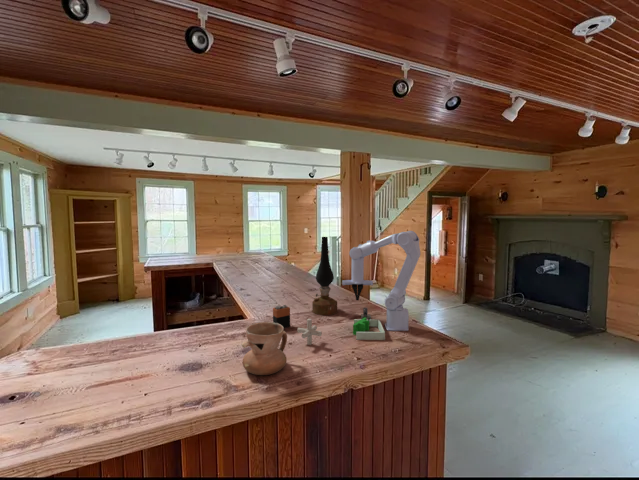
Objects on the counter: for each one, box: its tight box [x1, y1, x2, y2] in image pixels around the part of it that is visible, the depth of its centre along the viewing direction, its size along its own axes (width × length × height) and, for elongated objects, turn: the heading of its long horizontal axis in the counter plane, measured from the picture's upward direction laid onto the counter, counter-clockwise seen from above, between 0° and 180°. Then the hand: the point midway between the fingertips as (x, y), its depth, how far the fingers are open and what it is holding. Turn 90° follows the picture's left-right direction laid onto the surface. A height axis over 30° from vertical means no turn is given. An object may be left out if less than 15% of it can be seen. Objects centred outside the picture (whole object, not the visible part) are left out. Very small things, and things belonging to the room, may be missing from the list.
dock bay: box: [353, 318, 386, 341], centre depth 139 cm, size 12×16×3 cm
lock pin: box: [362, 307, 369, 321], centre depth 149 cm, size 8×2×5 cm, turn 178°
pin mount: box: [360, 313, 372, 323], centre depth 150 cm, size 3×4×4 cm
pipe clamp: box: [352, 317, 370, 336], centre depth 140 cm, size 11×4×5 cm, turn 147°
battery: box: [272, 304, 291, 329], centre depth 145 cm, size 4×7×10 cm, turn 125°
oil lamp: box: [311, 236, 339, 316], centre depth 168 cm, size 14×15×40 cm
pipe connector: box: [296, 318, 323, 346], centre depth 127 cm, size 10×10×10 cm
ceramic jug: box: [241, 321, 288, 376], centre depth 107 cm, size 18×14×14 cm
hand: (357, 299), depth 154 cm, fingers closed
